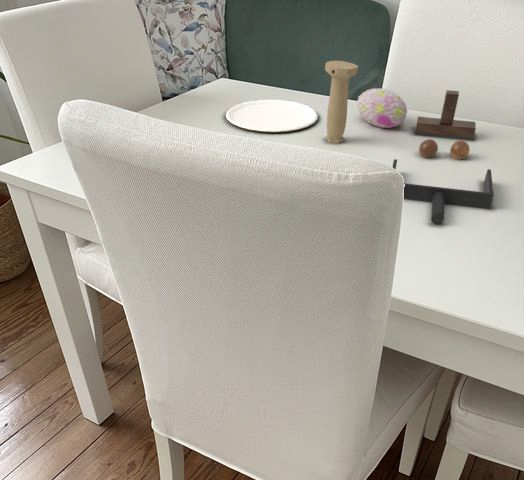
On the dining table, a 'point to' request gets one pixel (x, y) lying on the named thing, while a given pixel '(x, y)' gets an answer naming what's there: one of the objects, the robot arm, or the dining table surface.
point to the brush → (446, 122)
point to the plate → (271, 116)
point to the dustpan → (449, 196)
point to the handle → (338, 98)
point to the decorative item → (381, 108)
